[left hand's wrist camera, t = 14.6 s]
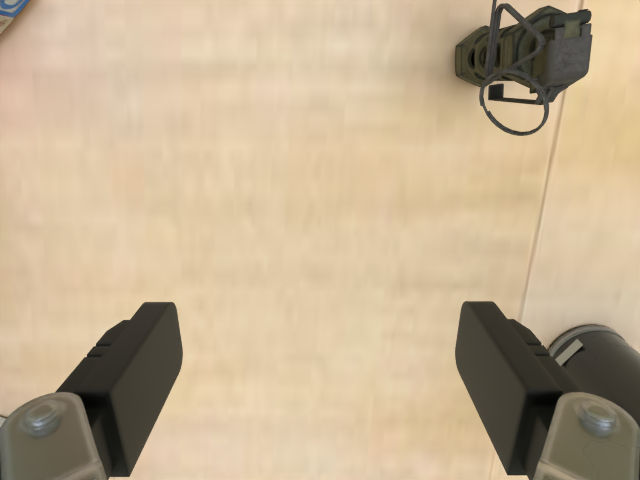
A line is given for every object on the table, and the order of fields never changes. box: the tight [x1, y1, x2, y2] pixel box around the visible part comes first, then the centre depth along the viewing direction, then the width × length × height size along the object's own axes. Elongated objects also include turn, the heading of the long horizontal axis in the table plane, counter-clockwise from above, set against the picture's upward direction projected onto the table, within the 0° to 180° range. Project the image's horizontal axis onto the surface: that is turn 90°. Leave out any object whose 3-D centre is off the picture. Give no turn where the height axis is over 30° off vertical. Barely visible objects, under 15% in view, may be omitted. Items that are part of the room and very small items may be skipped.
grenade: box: [455, 0, 592, 136], centre depth 31 cm, size 9×6×15 cm, turn 7°
